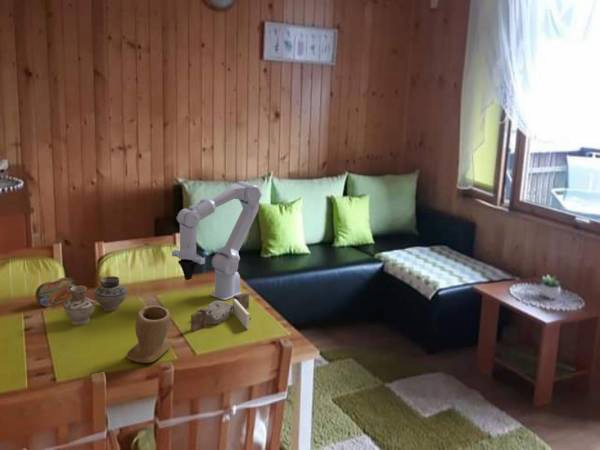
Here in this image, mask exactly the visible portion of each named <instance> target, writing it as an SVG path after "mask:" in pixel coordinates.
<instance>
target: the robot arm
mask: <svg viewBox="0 0 600 450" xmlns="http://www.w3.org/2000/svg"><path fill="white" fill-rule="evenodd" d="M262 195H263V194H262V192H261V189H260V187H259V186H258V185H256V184H252V183H249V182H246V181H244V180H238V181H237V182H235V183H232V184H231V185H230V186H229V187H228V188H226V189H225V190H224V191H222V192H221V193H219V194H217V195H216V196H214V197H212V199H209V198H201V199H200V201H199V202H198V203H195V204H193V205H190V206H189V207H188V208H183V209H181V210H180V211H179V212H178V213H177V216H176V220H177V222H178V223H179V250H178V249H175V250H172V251H171V257H177V258H178V259H179V260H178V261H177V262H178V264H179V266H180V268H181V270H182V273H183V276H184V279H185V280H186V281H189V280H192V279H193V274H194V271H195V268H196V266H197V265H198V264H199V265H203V264H205V263H206V258H205V257H202V256H201V255H199V254H197V226H198V225H199V224H200V221H201V220H204V219H205V218H207V217H208V216H210V215H213V214H214V213H215V212H216V208H218V207H220V206H223V205H225V204H226V203H228V202H231V201H232V200H238V201H240V205H241V206H242V207H241V208H242V210H241V212H240V213H239V215H238V218H237V220H236V222H235V225H234V227H233V228H232V230H231V233H230V235H229V237H228V239H227V241H226V243H225V245H224V246H222V247H220V248H219V250H218V252H217V253H216V254H215V255H214V256H213V257H212V259H211V265H212V267H213V268H214V292H212V293H209V296H211V297H214V298H217V299H219V300H221V301H222V300H223V301H227V300H230V299H233V298H234V296H235V295H238V296H239V295H241V294H243V292H241V275H240V273H239V271H238V269H239V263H240V260H241V257H240V255H239V251H240V249H241V247H242V246H243V243H244V242H245V239H246V238H247V235H248V233H249V231H250V229H251V227H252V224H253V222H254V221H255V219H256V216H257V214H258V212H259V206H260V200H261V197H262Z"/></svg>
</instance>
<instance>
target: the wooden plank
mask: <svg viewBox="0 0 600 450" xmlns="http://www.w3.org/2000/svg"><path fill="white" fill-rule="evenodd" d="M233 298H236V299H237V301H238V302H239V303H240V304H241V305H242V306H243V307H244V308H245V310H247V309H249V307H250V293H248V292H244V293H242V294H240V295H235V296H234V297H233ZM199 309H200V308H199ZM206 328H207V323H206V310H204V309H200V310H199V312H197V311H196V312H195V313H192V314H190V331H191V332H197V331H200V330H202V329H206Z"/></svg>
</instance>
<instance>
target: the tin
mask: <svg viewBox="0 0 600 450" xmlns="http://www.w3.org/2000/svg"><path fill="white" fill-rule="evenodd" d="M74 286H78V284H77V282H76V280H74V278H71V277H60V278H57V279H54V280H51V281H45V282H44V283H41V284H40V285H39V286H38V287H37V288H36V289H35V300H36V302H37V303H38V304H39V305H41V306H43V307H46V308H47V307H48V308H49V307H52V306H56V305H58V304H63V303H65V302H66V301H68V300H69V299H71V298H72V293H71V290H70V289H71V288H72V287H74Z"/></svg>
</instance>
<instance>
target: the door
mask: <svg viewBox="0 0 600 450" xmlns="http://www.w3.org/2000/svg"><path fill="white" fill-rule="evenodd" d="M232 306H233V309H232V313H233V314H234V316H235V317H236V318H237V319H238V320H239V321H240V322H241V324H242V325H243V326H244V328H245V329H247V330H248V329H250V321H251V320H252V317H251V316H250V315H251V314H250V313H249V312H248V311H247V309H245V308H244V307H243V306H242V305H241V304H240V303H239V302H238V301H237V299H236V298H234V297H232Z"/></svg>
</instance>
